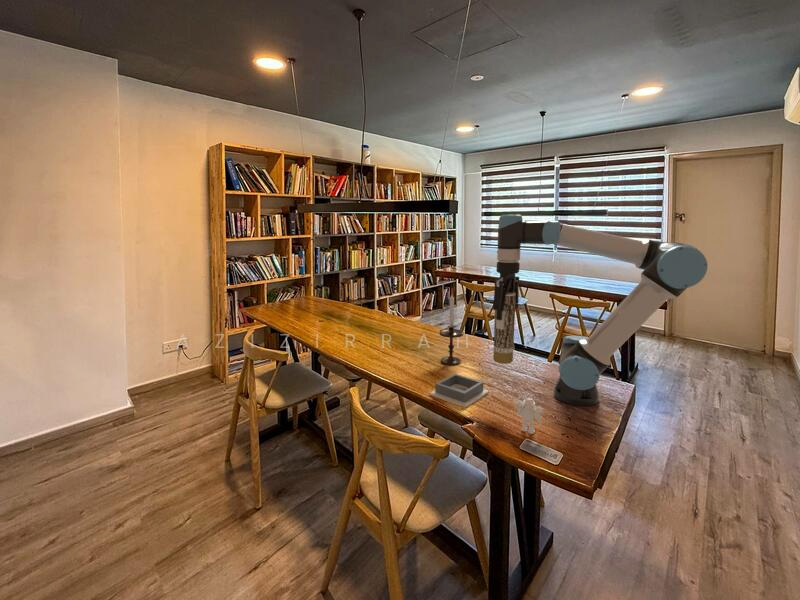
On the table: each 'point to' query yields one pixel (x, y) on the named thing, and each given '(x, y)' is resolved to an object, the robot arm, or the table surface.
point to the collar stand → (459, 390)
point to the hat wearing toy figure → (528, 413)
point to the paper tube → (505, 332)
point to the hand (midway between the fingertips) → (505, 326)
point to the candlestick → (451, 336)
